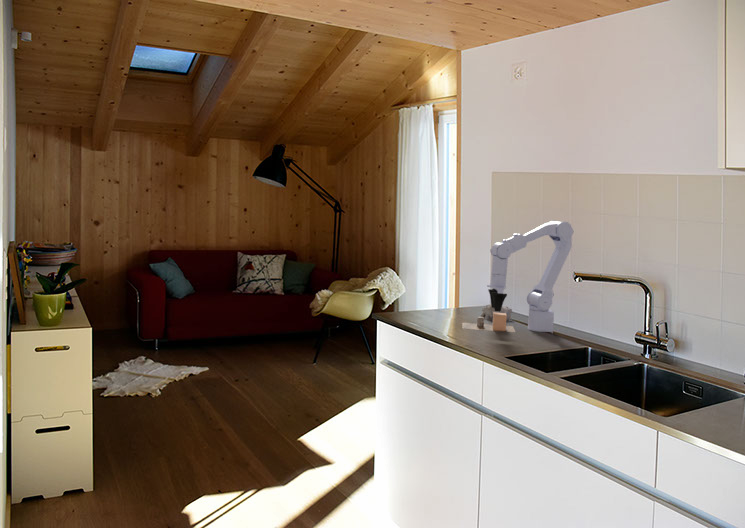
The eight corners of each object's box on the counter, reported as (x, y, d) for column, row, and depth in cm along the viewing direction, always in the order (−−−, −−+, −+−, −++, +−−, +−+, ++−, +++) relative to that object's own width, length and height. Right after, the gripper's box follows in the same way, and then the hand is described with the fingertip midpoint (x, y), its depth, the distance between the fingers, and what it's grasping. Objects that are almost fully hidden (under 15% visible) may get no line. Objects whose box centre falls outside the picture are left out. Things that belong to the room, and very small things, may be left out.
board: (513, 328, 255) (513, 317, 254) (515, 335, 243) (516, 323, 243) (462, 325, 258) (462, 314, 257) (462, 331, 246) (462, 319, 245)
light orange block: (504, 328, 250) (505, 313, 249) (505, 330, 245) (506, 315, 244) (492, 327, 250) (493, 312, 250) (492, 329, 246) (493, 314, 245)
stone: (513, 322, 268) (514, 306, 267) (486, 322, 265) (487, 306, 264) (504, 319, 276) (505, 303, 275) (478, 319, 273) (479, 303, 272)
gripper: (485, 271, 251) (483, 305, 253) (491, 275, 237) (488, 312, 238) (503, 272, 251) (500, 306, 253) (510, 277, 237) (507, 313, 238)
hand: (495, 309), depth 245 cm, fingers open, 7 cm apart
